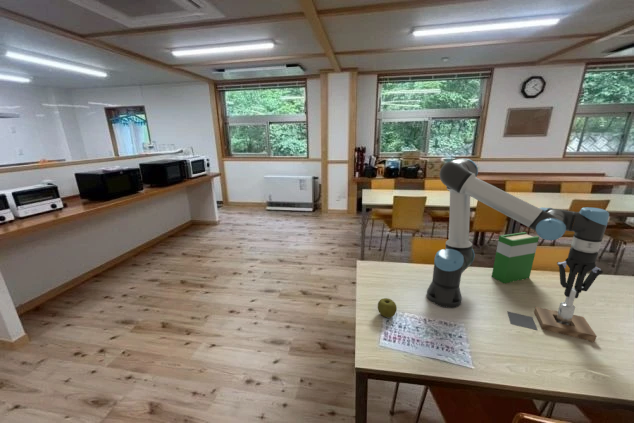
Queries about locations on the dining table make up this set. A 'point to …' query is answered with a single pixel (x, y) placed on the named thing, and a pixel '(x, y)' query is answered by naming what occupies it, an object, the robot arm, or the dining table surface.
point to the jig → (575, 329)
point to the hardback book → (514, 257)
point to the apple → (387, 307)
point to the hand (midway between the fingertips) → (568, 303)
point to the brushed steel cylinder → (565, 313)
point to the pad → (522, 320)
